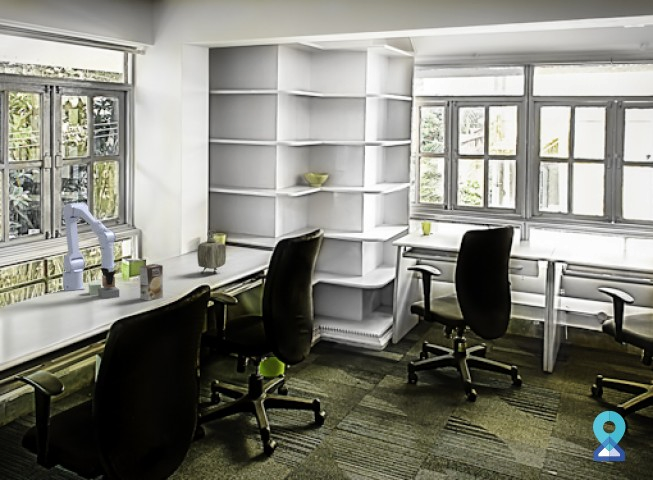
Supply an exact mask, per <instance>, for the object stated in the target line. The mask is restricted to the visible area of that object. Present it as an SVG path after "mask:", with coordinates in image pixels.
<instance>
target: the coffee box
mask: <svg viewBox="0 0 653 480" xmlns="http://www.w3.org/2000/svg"><path fill="white" fill-rule="evenodd" d="M163 268H164V266H163V265H161V264H157V263H153V264H148V265H141V266H139V276H140V277H139V284H140V285H139V288H140V289H139V290H140V291H139V292H140V293H139V294H140V300H144V301H148V302H149V301H150V302H151V301H153V300H158V299H161V298H164V285H163V283H164V279H163V278H164V277H163V276H164V274H163V273H164V272H163V270H164V269H163Z"/></svg>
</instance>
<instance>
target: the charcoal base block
mask: <svg viewBox="0 0 653 480" xmlns="http://www.w3.org/2000/svg"><path fill="white" fill-rule="evenodd" d="M98 296H99V297H100V298H101V299H102V300H106V299H115V298H120V289H119V288H117V287H116V286H115V287H110V288H104V287H103V286H101V288H98Z"/></svg>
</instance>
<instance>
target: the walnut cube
mask: <svg viewBox="0 0 653 480" xmlns="http://www.w3.org/2000/svg"><path fill="white" fill-rule="evenodd" d="M101 280H102V282H101V283H102V284H101V287H104V288H110V287H116V276H114V277H113V282H112V285H107V282H106V277H105V276H103V275H102V276H101Z"/></svg>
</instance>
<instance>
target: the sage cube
mask: <svg viewBox="0 0 653 480" xmlns="http://www.w3.org/2000/svg"><path fill="white" fill-rule="evenodd" d="M98 288H102V284H101V283H100V282H88V293H90V294H89V295H90V296H95V295H96V296H97V295H98Z"/></svg>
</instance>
